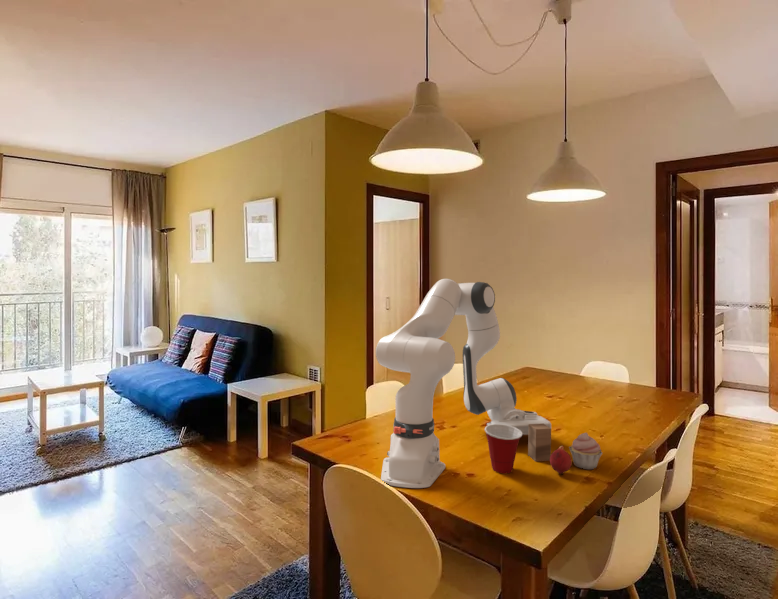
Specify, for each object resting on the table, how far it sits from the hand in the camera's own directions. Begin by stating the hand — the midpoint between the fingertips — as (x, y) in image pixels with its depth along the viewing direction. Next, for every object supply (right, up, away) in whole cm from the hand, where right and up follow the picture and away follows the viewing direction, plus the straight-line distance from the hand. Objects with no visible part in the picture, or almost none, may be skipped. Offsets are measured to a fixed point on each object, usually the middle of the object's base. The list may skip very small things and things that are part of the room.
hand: (530, 434), depth 151 cm
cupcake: (+13, -6, -11) cm, 18 cm away
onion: (+3, -6, -17) cm, 19 cm away
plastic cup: (-13, -6, -14) cm, 20 cm away
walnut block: (+1, -6, -5) cm, 8 cm away
